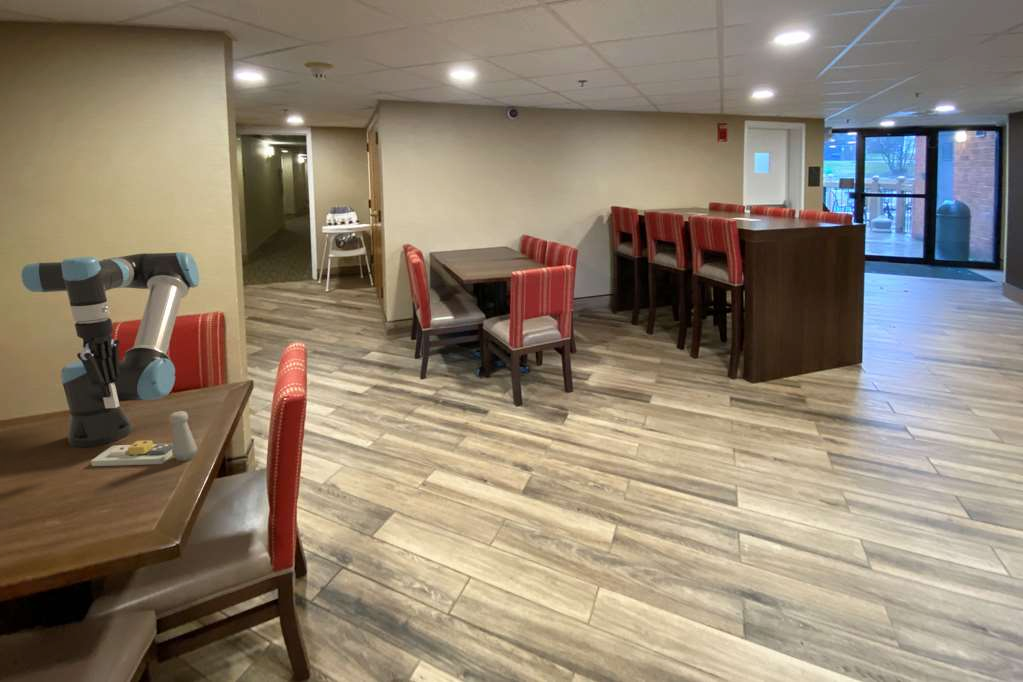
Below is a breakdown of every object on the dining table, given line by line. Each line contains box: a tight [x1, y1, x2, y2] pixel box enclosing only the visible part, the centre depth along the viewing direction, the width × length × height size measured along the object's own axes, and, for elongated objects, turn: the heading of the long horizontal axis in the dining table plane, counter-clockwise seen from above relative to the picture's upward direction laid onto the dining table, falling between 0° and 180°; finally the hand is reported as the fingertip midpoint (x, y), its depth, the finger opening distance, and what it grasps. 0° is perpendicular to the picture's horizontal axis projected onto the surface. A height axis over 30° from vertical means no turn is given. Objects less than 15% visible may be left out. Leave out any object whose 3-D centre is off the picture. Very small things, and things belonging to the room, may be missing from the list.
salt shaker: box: [168, 410, 198, 462], centre depth 149 cm, size 6×6×13 cm
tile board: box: [90, 443, 174, 467], centre depth 151 cm, size 18×9×2 cm, turn 92°
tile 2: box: [128, 439, 154, 455], centre depth 151 cm, size 4×4×2 cm
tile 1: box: [110, 444, 132, 457], centre depth 151 cm, size 4×4×2 cm
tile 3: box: [148, 443, 172, 455], centre depth 151 cm, size 4×4×2 cm
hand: (112, 406), depth 148 cm, fingers closed
